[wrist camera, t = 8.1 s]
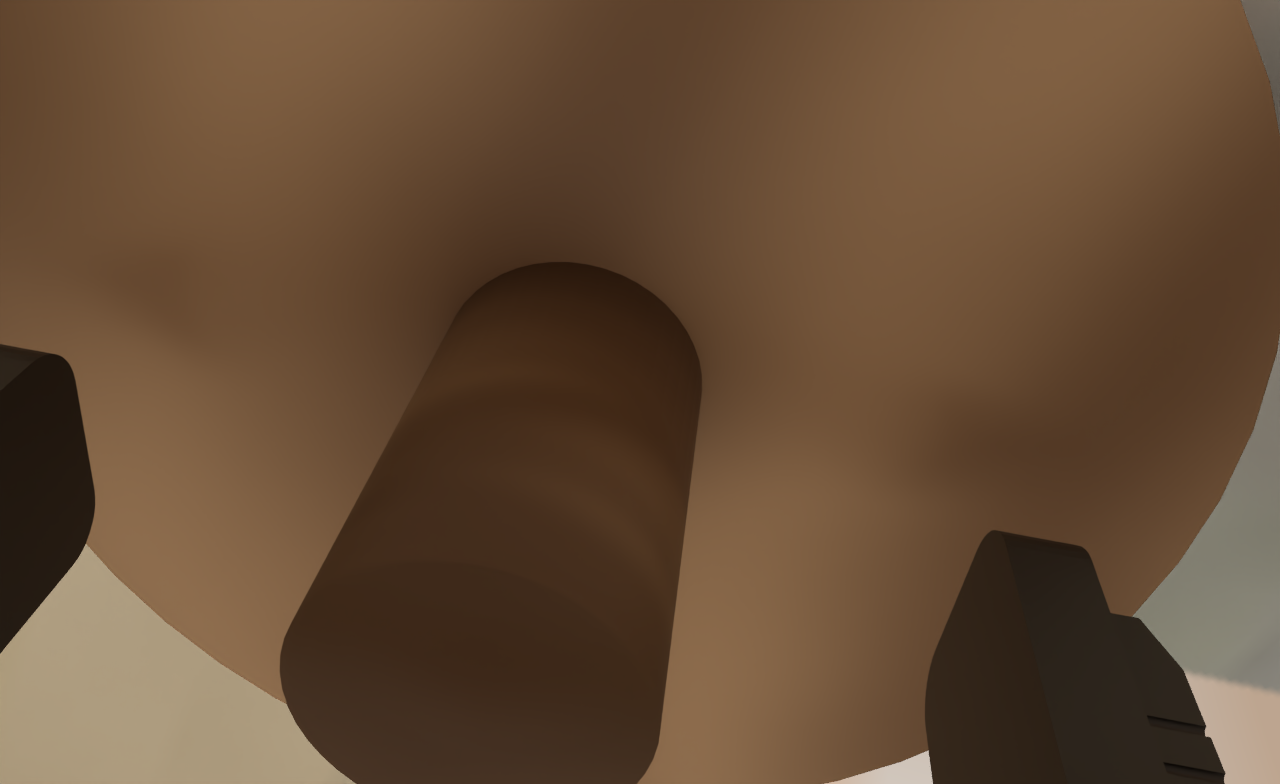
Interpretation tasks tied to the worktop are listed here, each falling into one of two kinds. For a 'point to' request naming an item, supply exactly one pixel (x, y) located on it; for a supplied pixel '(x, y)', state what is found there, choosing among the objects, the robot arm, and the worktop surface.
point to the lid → (633, 345)
